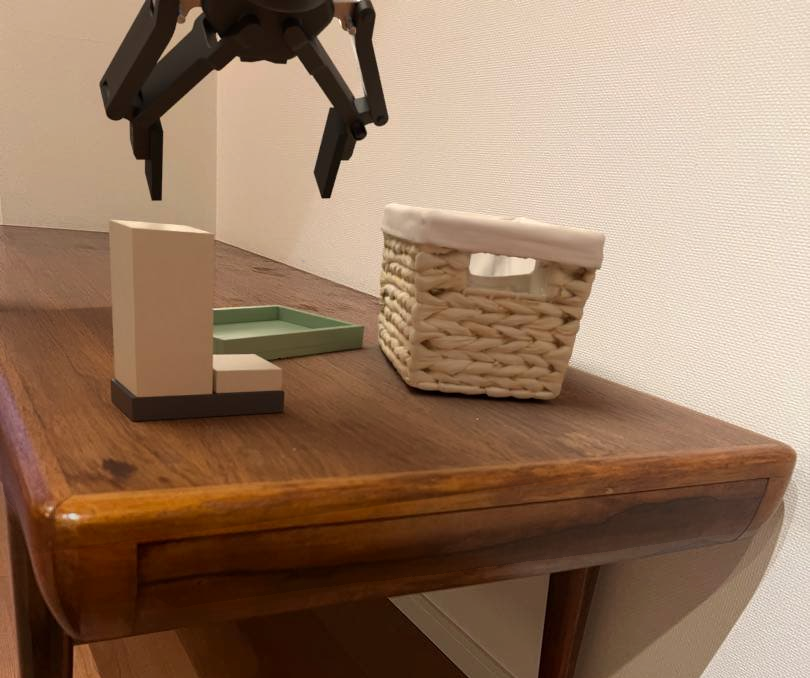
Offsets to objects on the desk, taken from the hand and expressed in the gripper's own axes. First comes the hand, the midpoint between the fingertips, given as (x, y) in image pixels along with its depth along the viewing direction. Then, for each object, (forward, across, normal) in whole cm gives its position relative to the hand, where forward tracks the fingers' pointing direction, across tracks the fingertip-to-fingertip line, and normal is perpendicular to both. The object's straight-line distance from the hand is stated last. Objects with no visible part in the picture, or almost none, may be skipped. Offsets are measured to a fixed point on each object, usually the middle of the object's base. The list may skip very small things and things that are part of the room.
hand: (240, 186), depth 62 cm
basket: (+12, +21, -12) cm, 27 cm away
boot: (+1, -7, -18) cm, 20 cm away
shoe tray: (+18, +3, -3) cm, 19 cm away
